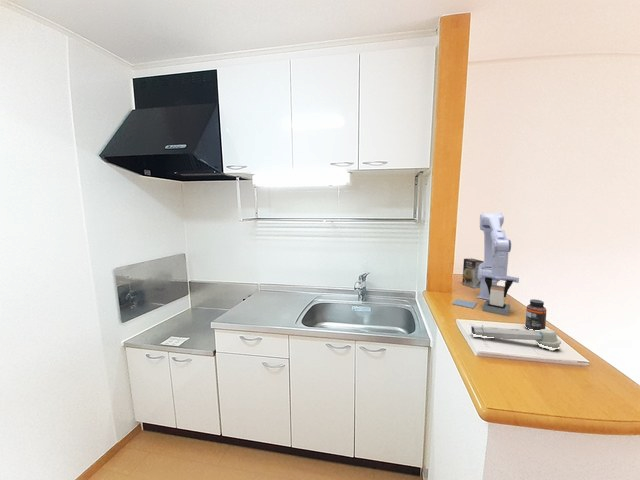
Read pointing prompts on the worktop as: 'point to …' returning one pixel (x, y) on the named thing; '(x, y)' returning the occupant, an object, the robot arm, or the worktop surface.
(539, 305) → the supplement bottle
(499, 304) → the beige pink box
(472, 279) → the coffee box
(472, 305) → the rubber mat
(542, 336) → the angled head flashlight
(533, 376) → the worktop surface
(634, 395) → the worktop surface
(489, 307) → the frame
